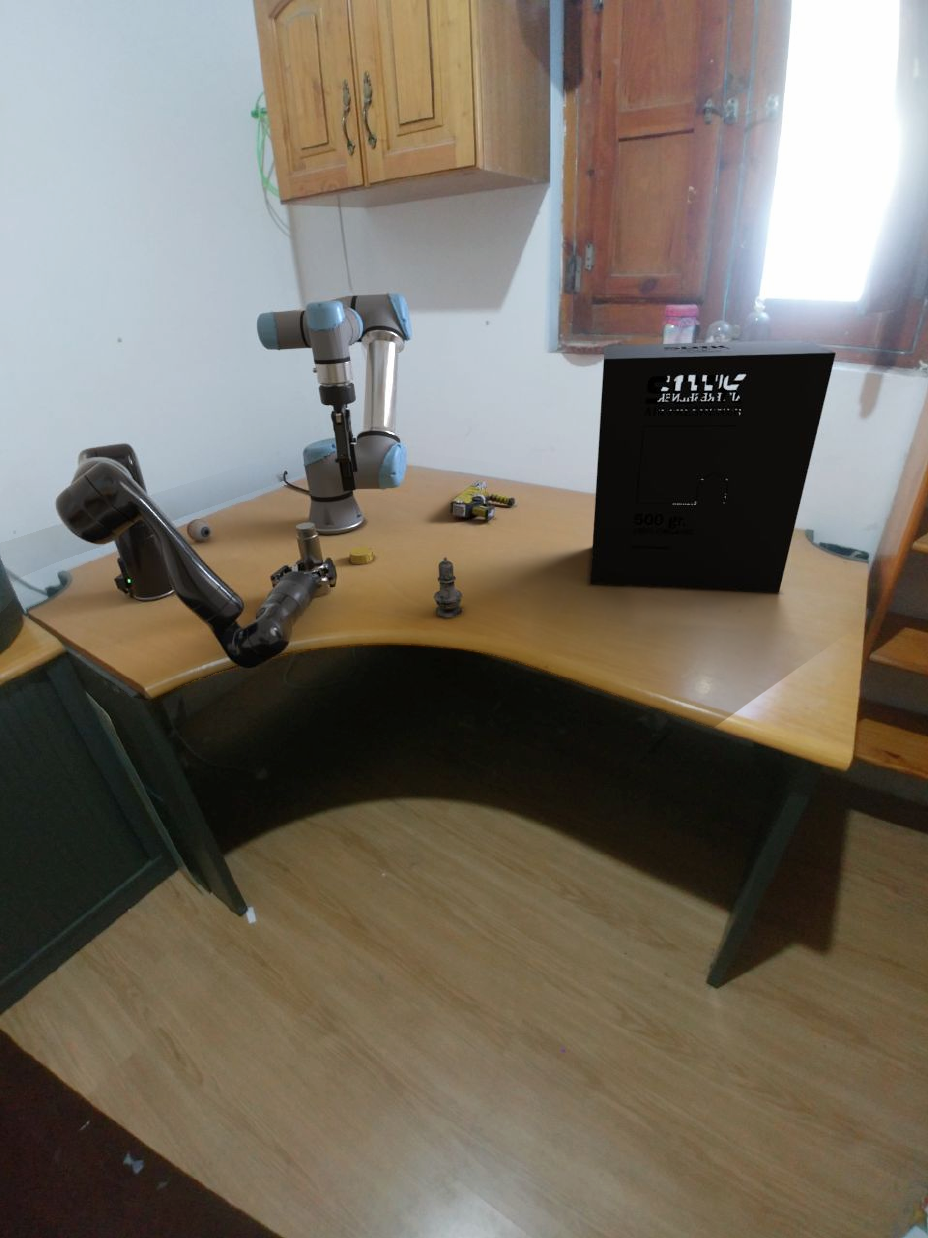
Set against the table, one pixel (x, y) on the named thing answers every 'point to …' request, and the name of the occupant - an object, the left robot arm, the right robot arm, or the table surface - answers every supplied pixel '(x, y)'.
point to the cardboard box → (704, 462)
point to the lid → (361, 555)
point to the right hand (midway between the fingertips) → (351, 480)
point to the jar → (310, 550)
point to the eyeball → (199, 530)
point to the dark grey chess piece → (447, 591)
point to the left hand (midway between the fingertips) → (317, 561)
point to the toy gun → (477, 502)
